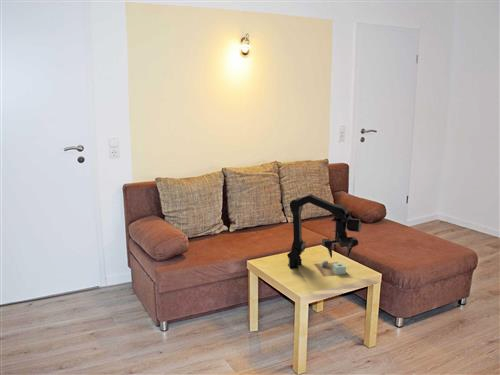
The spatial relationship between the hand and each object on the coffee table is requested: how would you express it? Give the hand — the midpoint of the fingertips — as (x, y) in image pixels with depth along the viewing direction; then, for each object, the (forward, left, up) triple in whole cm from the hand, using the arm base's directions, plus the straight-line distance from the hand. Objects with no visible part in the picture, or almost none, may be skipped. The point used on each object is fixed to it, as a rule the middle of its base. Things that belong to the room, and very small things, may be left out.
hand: (339, 257), depth 241 cm
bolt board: (-3, +5, -10) cm, 11 cm away
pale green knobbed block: (0, 0, -9) cm, 9 cm away
